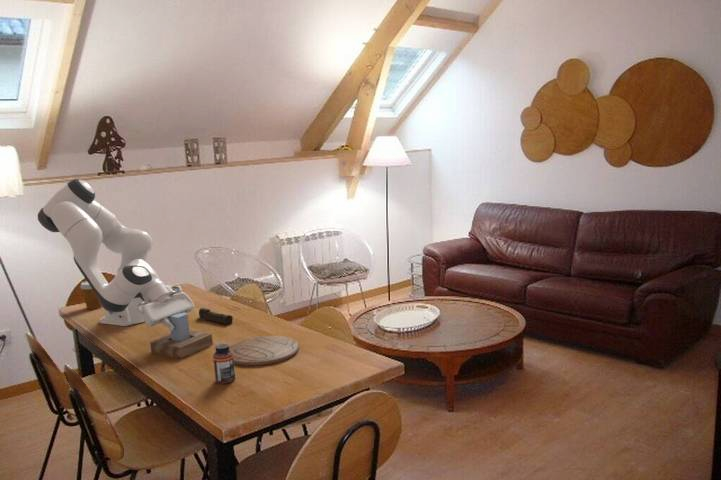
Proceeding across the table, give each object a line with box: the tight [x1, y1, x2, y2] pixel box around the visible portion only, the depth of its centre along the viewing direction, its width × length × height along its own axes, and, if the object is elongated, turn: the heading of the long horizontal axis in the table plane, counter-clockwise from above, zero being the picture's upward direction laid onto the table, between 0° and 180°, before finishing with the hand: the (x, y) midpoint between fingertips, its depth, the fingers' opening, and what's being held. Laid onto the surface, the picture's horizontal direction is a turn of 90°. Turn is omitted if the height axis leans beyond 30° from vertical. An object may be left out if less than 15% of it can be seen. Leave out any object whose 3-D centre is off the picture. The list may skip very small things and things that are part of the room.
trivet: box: [229, 335, 300, 367], centre depth 204 cm, size 25×25×2 cm
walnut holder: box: [149, 329, 214, 360], centre depth 211 cm, size 15×15×4 cm
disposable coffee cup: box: [79, 280, 103, 311], centre depth 270 cm, size 10×10×12 cm
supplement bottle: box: [212, 343, 236, 385], centre depth 181 cm, size 6×6×11 cm
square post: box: [168, 313, 190, 342], centre depth 210 cm, size 4×4×10 cm
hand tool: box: [198, 307, 234, 326], centre depth 242 cm, size 19×4×5 cm, turn 51°
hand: (180, 326), depth 210 cm, fingers closed on square post, 4 cm apart
